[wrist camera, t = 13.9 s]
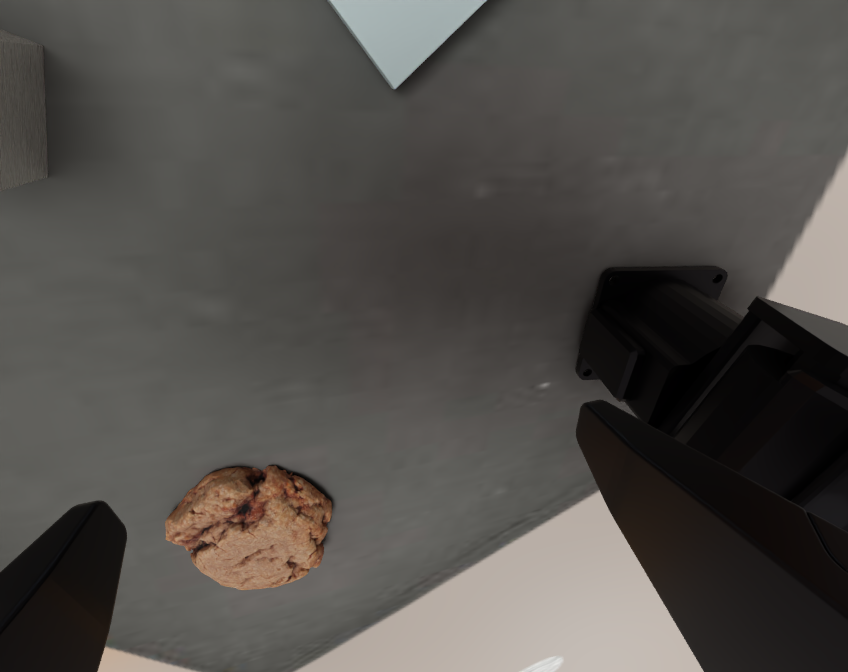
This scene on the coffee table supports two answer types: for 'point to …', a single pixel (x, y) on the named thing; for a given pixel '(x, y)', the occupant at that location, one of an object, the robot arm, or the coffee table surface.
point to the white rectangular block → (22, 112)
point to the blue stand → (402, 30)
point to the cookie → (252, 526)
